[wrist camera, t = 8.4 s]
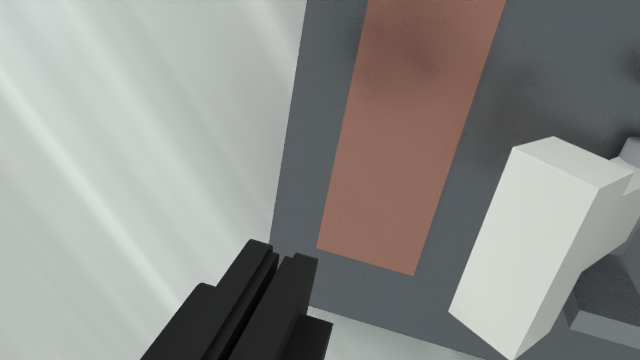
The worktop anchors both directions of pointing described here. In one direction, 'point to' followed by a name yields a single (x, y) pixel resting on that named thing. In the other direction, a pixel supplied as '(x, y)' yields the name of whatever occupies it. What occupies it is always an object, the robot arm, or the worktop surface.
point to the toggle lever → (545, 238)
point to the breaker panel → (450, 154)
